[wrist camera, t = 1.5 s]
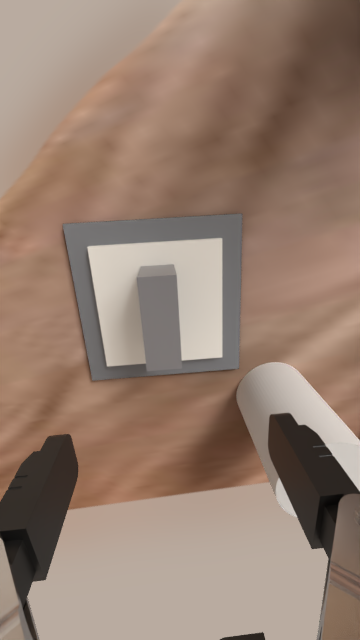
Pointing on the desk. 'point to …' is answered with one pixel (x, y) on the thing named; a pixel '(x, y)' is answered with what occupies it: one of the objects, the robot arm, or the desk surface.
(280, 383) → the cup
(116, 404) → the desk surface
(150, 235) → the mat
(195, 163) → the desk surface
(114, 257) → the lid
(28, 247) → the desk surface
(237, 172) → the desk surface
